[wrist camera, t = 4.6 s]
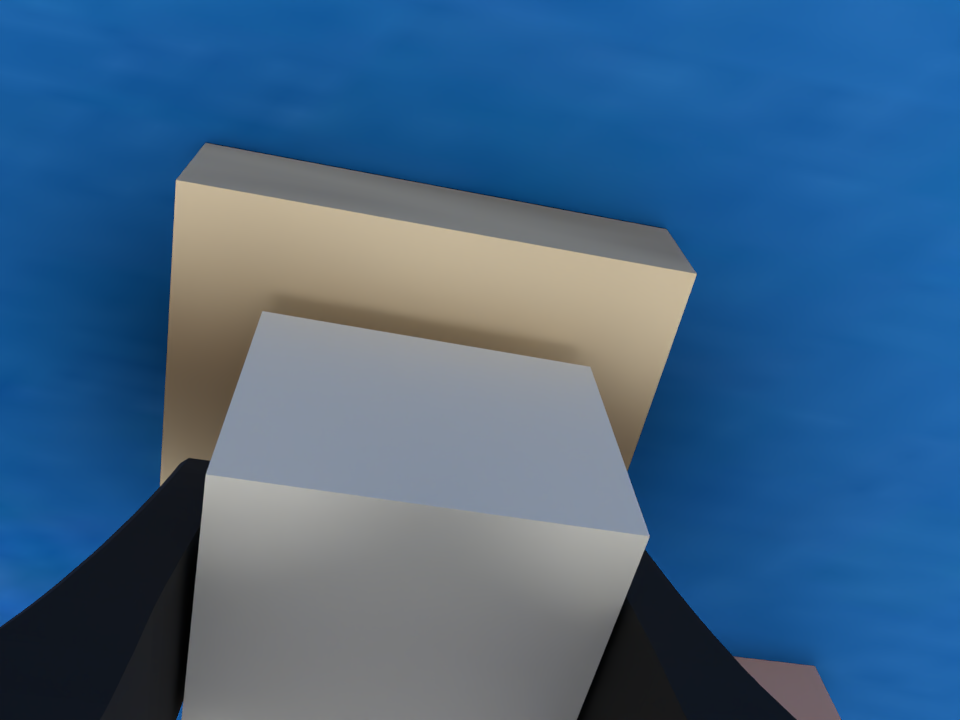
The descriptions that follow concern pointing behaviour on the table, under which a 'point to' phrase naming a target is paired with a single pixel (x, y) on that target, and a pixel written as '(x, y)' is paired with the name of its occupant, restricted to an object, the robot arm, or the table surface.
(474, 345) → the oak slab
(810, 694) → the terracotta cube
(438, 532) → the cream cube
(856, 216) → the table surface
